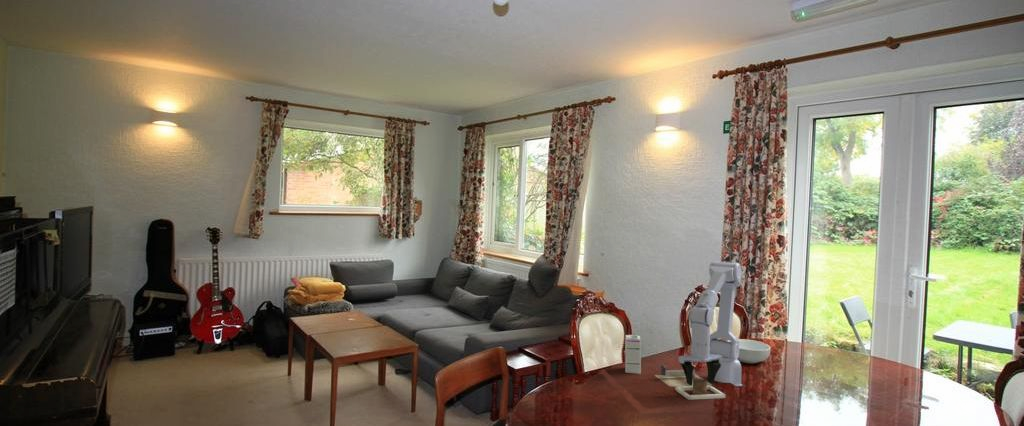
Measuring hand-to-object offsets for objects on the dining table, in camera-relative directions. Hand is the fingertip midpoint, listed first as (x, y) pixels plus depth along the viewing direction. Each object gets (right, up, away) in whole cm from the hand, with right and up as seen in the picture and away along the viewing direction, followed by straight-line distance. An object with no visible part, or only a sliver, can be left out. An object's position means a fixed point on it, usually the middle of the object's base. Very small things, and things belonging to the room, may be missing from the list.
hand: (700, 383), depth 166 cm
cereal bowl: (+37, -6, +44) cm, 57 cm away
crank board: (-1, -5, +13) cm, 14 cm away
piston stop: (0, -4, 0) cm, 4 cm away
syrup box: (-17, -5, +23) cm, 29 cm away
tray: (0, -5, 0) cm, 5 cm away
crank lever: (-2, -3, +15) cm, 16 cm away
